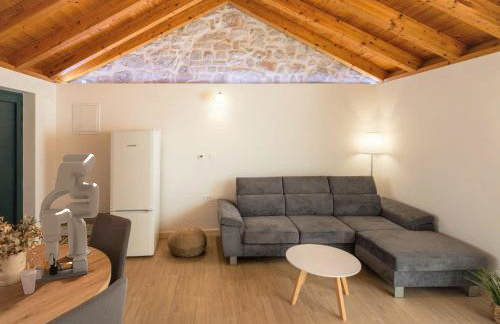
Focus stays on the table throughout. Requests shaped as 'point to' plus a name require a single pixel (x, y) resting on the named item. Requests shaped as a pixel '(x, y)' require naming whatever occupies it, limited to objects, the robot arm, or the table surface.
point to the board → (60, 275)
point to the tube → (60, 267)
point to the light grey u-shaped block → (39, 271)
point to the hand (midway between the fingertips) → (54, 272)
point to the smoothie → (28, 280)
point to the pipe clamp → (39, 265)
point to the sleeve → (79, 264)
